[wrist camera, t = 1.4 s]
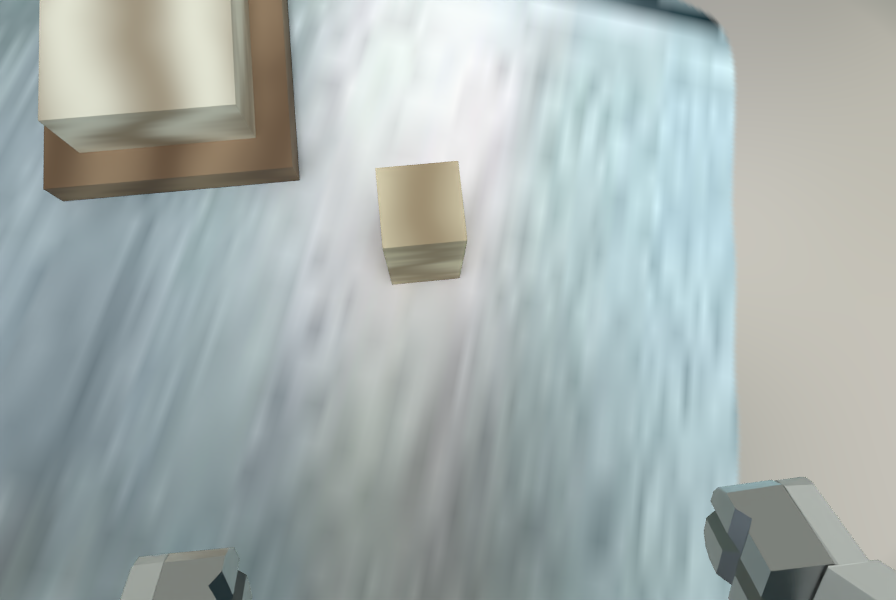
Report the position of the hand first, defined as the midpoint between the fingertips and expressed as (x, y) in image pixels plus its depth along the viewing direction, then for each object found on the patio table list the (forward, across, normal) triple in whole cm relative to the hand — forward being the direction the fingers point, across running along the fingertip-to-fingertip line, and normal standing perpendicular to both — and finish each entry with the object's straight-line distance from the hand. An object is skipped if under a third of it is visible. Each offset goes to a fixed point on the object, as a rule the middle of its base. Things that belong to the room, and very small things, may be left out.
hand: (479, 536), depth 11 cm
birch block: (+27, 0, +10) cm, 29 cm away
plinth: (+35, +14, +1) cm, 38 cm away
